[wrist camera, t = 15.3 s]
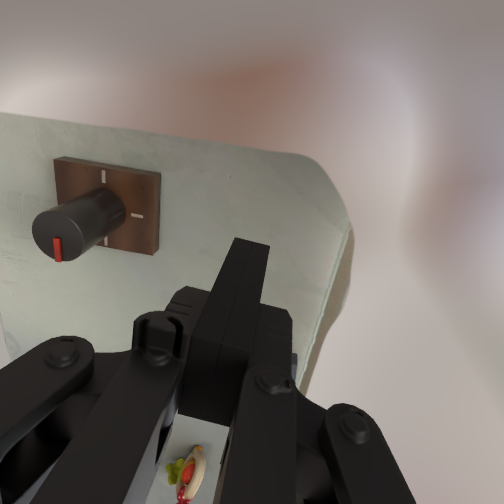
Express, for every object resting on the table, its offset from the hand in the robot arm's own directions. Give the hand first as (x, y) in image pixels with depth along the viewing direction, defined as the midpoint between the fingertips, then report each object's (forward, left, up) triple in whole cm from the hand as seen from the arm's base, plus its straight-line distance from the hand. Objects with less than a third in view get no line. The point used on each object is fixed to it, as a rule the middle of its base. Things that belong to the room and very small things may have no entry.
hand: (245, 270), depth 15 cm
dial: (+21, -1, -24) cm, 32 cm away
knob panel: (+21, -1, -26) cm, 34 cm away
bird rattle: (+28, +44, -27) cm, 59 cm away
